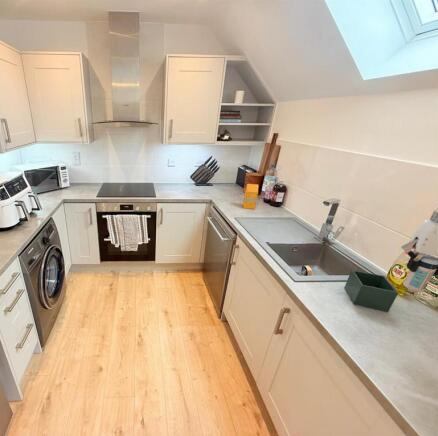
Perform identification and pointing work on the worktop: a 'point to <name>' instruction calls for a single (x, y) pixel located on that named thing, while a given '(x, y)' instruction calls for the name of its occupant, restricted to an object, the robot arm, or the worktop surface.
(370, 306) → the waste bin
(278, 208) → the worktop surface
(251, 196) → the orange juice
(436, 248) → the robot arm
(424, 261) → the white and teal cylinder
